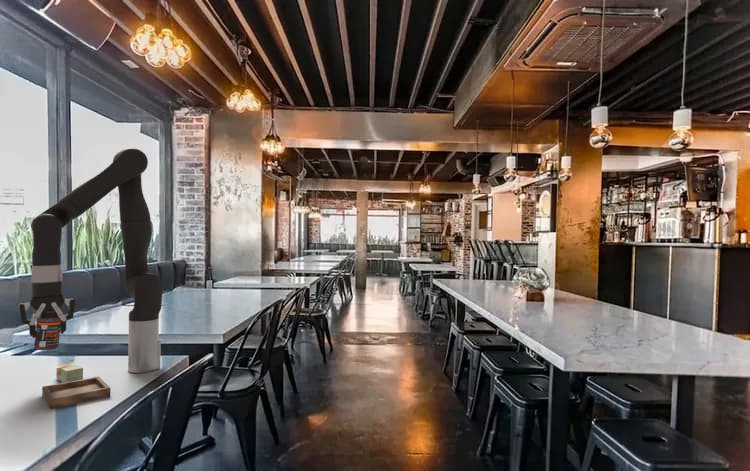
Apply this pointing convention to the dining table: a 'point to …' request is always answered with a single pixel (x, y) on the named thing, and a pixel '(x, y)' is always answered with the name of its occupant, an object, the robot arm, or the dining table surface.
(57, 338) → the supplement bottle
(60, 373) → the beech block
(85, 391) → the walnut tray
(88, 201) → the robot arm
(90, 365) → the dining table surface
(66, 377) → the olive block
